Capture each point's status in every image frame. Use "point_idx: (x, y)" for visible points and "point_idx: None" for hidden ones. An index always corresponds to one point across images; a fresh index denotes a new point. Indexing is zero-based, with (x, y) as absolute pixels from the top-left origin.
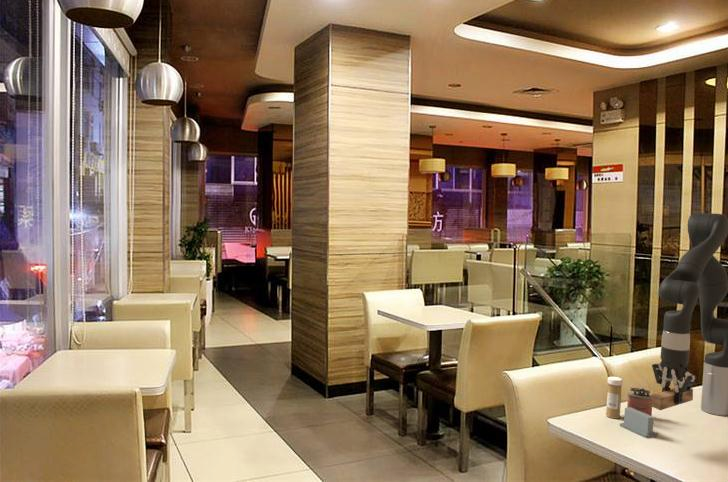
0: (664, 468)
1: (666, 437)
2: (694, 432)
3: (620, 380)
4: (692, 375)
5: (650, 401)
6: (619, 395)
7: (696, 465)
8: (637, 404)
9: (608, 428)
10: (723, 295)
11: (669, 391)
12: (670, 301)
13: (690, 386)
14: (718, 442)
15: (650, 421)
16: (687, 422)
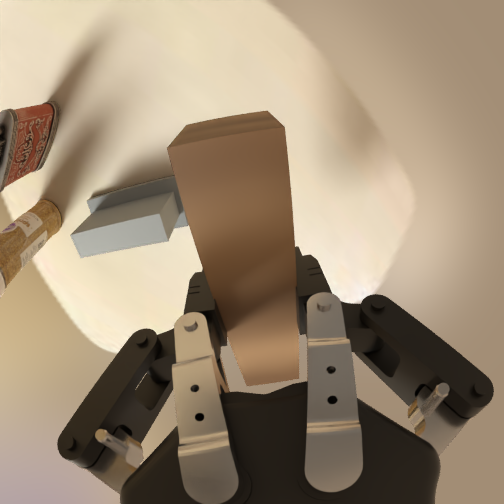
0: (349, 292)
1: None
2: (175, 26)
3: None
4: (470, 419)
5: (21, 122)
6: (19, 248)
7: (370, 214)
8: (23, 160)
9: (124, 277)
10: None
11: (243, 318)
12: None
13: (415, 333)
14: (267, 11)
15: (168, 222)
16: (103, 6)
